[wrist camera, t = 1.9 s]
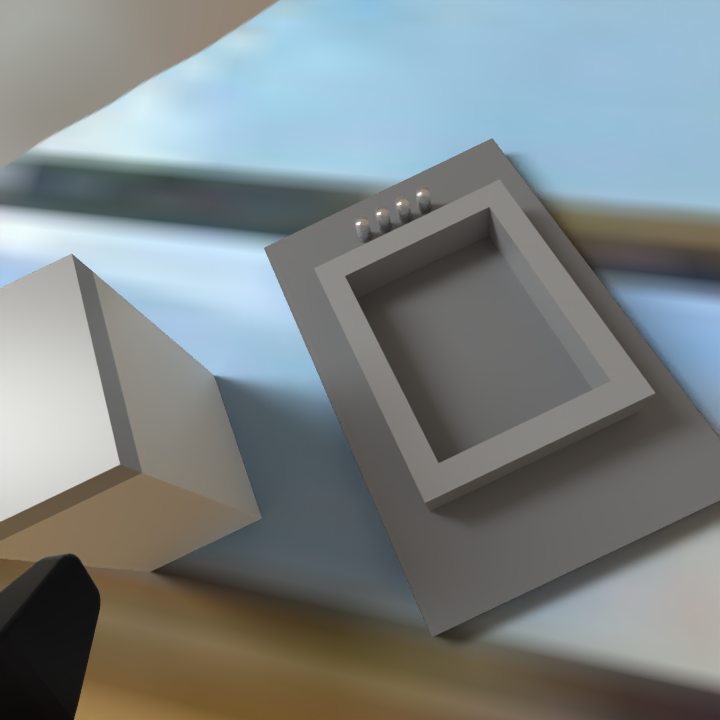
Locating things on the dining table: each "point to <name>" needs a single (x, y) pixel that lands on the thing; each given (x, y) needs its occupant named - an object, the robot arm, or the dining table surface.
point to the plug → (108, 431)
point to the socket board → (489, 386)
